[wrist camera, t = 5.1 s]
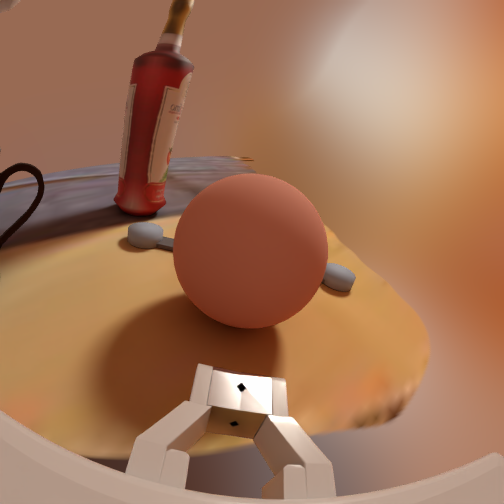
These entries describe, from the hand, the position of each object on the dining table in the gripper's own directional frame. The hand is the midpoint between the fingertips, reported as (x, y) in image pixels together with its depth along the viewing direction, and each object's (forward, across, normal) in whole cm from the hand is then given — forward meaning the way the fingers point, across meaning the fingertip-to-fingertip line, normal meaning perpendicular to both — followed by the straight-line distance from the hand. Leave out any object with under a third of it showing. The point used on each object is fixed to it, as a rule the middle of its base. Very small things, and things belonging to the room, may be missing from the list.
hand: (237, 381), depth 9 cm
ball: (+11, 0, 0) cm, 11 cm away
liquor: (+26, +14, +5) cm, 30 cm away
